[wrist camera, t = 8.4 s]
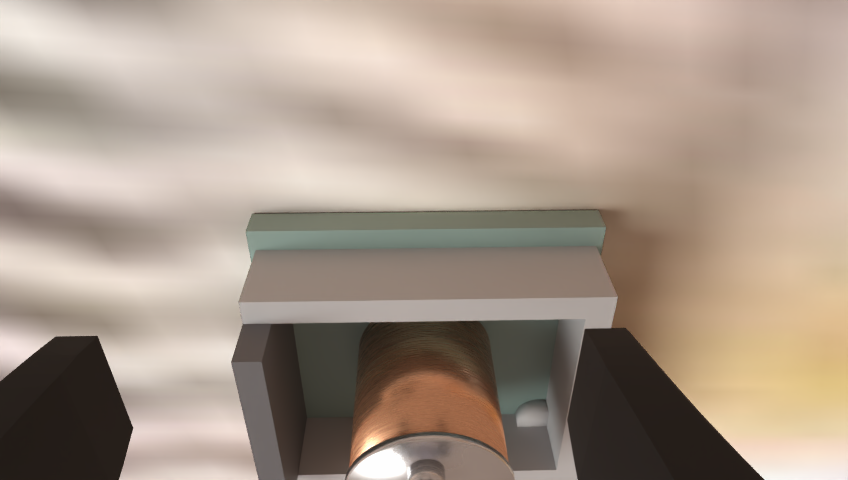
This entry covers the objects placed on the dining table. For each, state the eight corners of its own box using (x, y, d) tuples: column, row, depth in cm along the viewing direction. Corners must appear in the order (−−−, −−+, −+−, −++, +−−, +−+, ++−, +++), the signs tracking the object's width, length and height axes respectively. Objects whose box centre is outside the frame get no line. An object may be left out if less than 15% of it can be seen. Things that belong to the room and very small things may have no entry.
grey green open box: (559, 418, 26) (588, 534, 22) (288, 423, 26) (267, 541, 22) (597, 209, 21) (646, 313, 16) (251, 213, 20) (213, 319, 16)
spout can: (495, 392, 24) (521, 562, 18) (366, 403, 24) (355, 574, 19) (491, 292, 21) (519, 457, 16) (345, 305, 21) (326, 472, 16)
